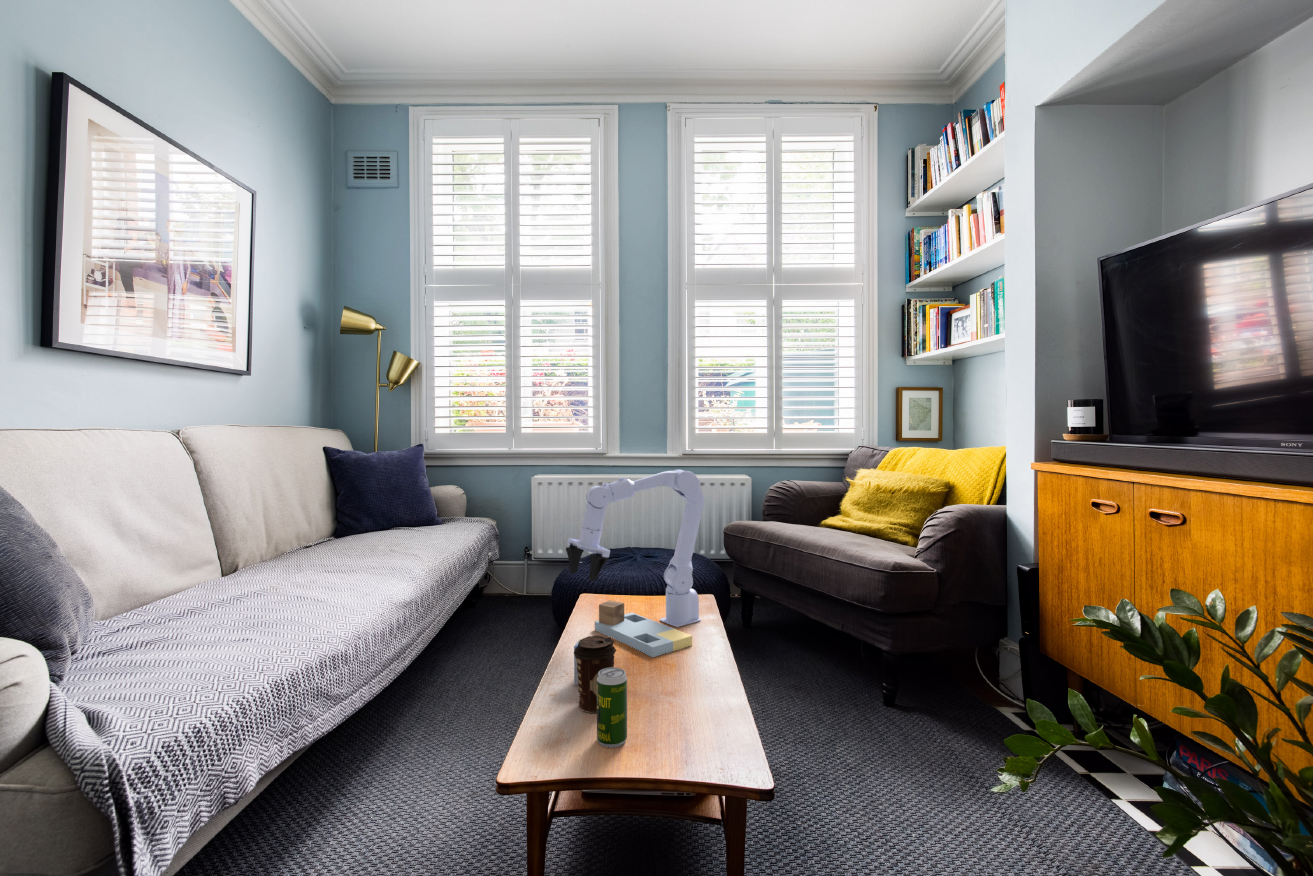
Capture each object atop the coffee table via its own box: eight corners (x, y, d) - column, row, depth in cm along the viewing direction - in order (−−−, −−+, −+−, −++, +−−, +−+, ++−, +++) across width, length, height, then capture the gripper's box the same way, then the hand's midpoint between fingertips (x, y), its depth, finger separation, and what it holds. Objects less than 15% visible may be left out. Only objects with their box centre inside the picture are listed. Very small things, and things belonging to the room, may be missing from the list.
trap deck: (632, 620, 171) (632, 612, 171) (692, 645, 150) (692, 635, 150) (594, 630, 162) (594, 621, 162) (652, 657, 142) (652, 647, 142)
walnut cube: (609, 617, 165) (609, 600, 165) (624, 620, 163) (624, 602, 163) (599, 622, 161) (598, 604, 161) (613, 625, 158) (613, 607, 158)
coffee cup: (624, 701, 118) (624, 637, 118) (604, 720, 111) (604, 651, 111) (587, 694, 122) (587, 631, 122) (565, 711, 114) (565, 644, 114)
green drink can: (611, 730, 107) (611, 664, 107) (633, 739, 103) (633, 672, 103) (590, 741, 103) (590, 673, 103) (612, 752, 99) (612, 681, 99)
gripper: (563, 522, 165) (554, 570, 164) (601, 534, 156) (591, 584, 155) (580, 523, 170) (571, 569, 170) (618, 534, 162) (608, 583, 161)
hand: (582, 576), depth 163 cm, fingers open, 7 cm apart
